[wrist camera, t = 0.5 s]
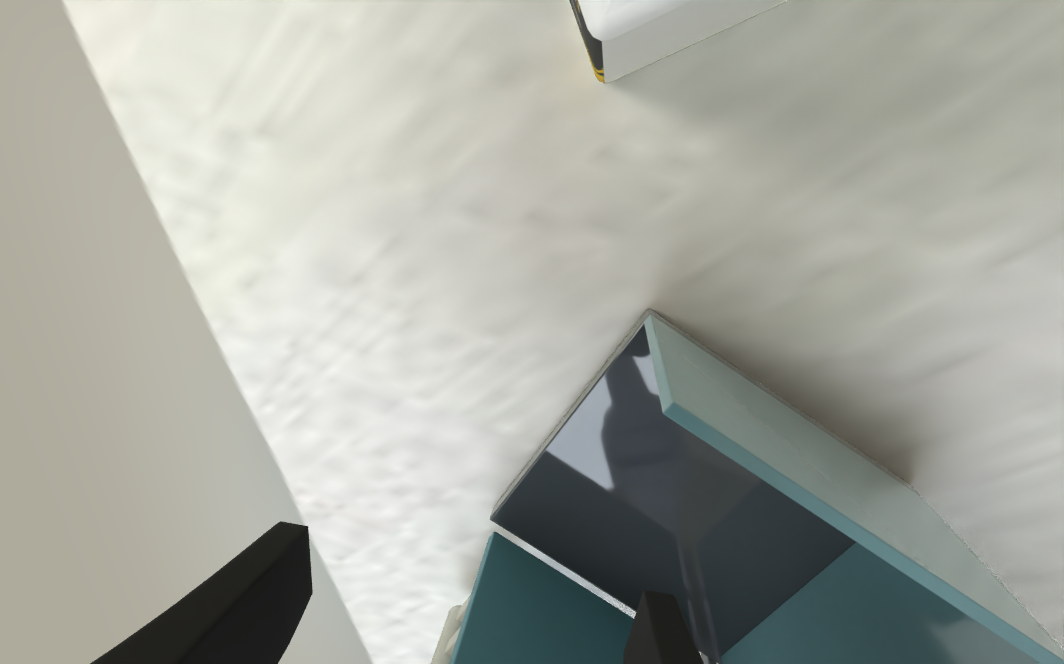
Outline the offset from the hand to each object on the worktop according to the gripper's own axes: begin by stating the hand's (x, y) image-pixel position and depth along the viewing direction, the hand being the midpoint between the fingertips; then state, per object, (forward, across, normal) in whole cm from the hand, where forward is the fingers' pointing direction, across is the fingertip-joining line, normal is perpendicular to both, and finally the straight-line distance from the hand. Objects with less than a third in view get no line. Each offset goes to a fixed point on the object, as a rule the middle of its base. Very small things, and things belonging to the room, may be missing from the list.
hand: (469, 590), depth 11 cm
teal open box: (+10, -7, +4) cm, 13 cm away
